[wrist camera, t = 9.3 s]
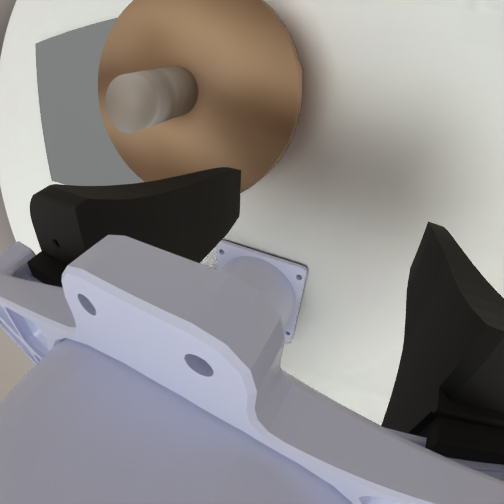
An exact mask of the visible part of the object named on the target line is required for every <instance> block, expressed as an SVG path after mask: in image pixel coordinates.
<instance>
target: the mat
mask: <svg viewBox="0 0 504 504" xmlns="http://www.w3.org/2000/svg"><path fill="white" fill-rule="evenodd" d="M117 19H118V18H115V19H111V20H107V21H103V22H99V23H96V24H92V25H89V26H85V27H82V28H79V29H75V30H72V31H69V32H66V33H63V34H60V35H58V36H55V37H52V38H49V39H47V40H44V41H41V42H39V43H36V68H37V83H38V94H39V104H40V113H41V121H42V128H43V135H44V141H45V147H46V153H47V159H48V164H49V169H50V174H51V179H52V181H55V182H59V183H62V184H66V185H75V186H110V185H122V184H134V183H142V182H144V181H143V180H142V179H141V178H139V177H138V176H137V175H136V174H135V173H134V172H133V171H132V170H131V169H130V168H129V167H128V165H127V164H126V163H125V162H124V160H123V159H122V158H121V156H120V155H119V153H118V152H117V150H116V149H115V147H114V145H113V143H112V141H111V139H110V137H109V135H108V132H107V130H106V127H105V125H104V121H103V118H102V115H101V110H100V105H99V97H98V71H99V63H100V59H101V54H102V51H103V47H104V44H105V41H106V39H107V37H108V35H109V32H110V30H111V28H112V27H113V25H114V23H115V22H116V20H117Z"/></svg>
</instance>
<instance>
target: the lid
mask: <svg viewBox="0 0 504 504" xmlns="http://www.w3.org/2000/svg"><path fill="white" fill-rule="evenodd" d="M302 88H303V86H302V75H301V67H300V63H299V58H298V54H297V51H296V48H295V46H294V43H293V41H292V38H291V36H290V34H289V32H288V30H287V29H286V27H285V25H284V24H283V22H282V21H281V19H280V18H279V17H278V16H277V14H276V13H275V12H274V11H273V9H272V8H271V7H270V6H268V5H267V4H266V3H265V2H264V1H263V0H133V1H132V2H131V3H130V4H129V5H128V6H127V7H126V8H125V10H124V11H123V12H122V13H121V15H120V16H119V17H118V19H117V20H116V22H115V23H114V25H113V27H112V28H111V30H110V32H109V35H108V37H107V39H106V41H105V44H104V47H103V51H102V54H101V59H100V63H99V71H98V97H99V105H100V110H101V115H102V118H103V121H104V125H105V127H106V130H107V132H108V135H109V137H110V139H111V141H112V143H113V145H114V147H115V149H116V150H117V152H118V153H119V155H120V156H121V158H122V159H123V160H124V162H125V163H126V164H127V165H128V167H129V168H130V169H131V170H132V171H133V172H134V173H135V174H136V175H137V176H138V177H139V178H141V179H142V180H143V181H144V182H149V181H155V180H161V179H165V178H170V177H175V176H180V175H185V174H189V173H193V172H198V171H203V170H207V169H213V168H219V167H229V168H234V169H239V170H241V189H240V193H241V192H243V191H245V190H247V189H249V188H250V187H251V186H253V185H254V184H255V183H257V182H258V181H259V180H260V179H262V178H263V177H264V176H265V175H266V174H267V173H268V172H269V171H270V170H271V169H272V168H273V167H274V166H275V165H276V164H277V163H278V161H279V160H280V158H281V157H282V155H283V154H284V153H285V151H286V149H287V147H288V145H289V143H290V141H291V140H292V138H293V135H294V132H295V129H296V126H297V123H298V120H299V115H300V110H301V105H302Z"/></svg>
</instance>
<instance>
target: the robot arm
mask: <svg viewBox="0 0 504 504" xmlns="http://www.w3.org/2000/svg"><path fill="white" fill-rule="evenodd" d="M240 189H241V170H239V169H234V168H229V167H219V168H213V169H207V170H203V171H198V172H193V173H189V174H185V175H180V176H175V177H170V178H165V179H161V180H155V181H149V182H142V183H134V184H122V185H110V186H75V185H58V184H54V185H50V186H48V187H46V188H44V189H43V190H41V191H39V192H38V193H36V194H34V195H33V197H32V199H31V202H30V215H31V219H32V223H33V226H34V229H35V232H36V235H37V239H38V242H39V244H40V247H41V250H42V251H41V252H40V253H39V254H37V255H35V253H34V252H33V251H32V250H31V249H30V248H29V247H27V246H25V245H24V244H22V243H21V242H16V243H15V244H14V245H12V246H11V247H9V248H8V249H7V250H5V251H4V252H3V253H1V254H0V326H1V327H2V328H3V329H4V330H5V332H6V333H7V334H8V335H9V336H10V337H11V338H12V339H13V340H14V342H15V343H16V344H17V345H18V346H19V347H20V348H21V349H22V350H23V351H24V353H25V354H26V355H27V356H28V357H29V358H30V359H31V360H32V361H33V362H34V363H35V364H36V365H35V366H34V367H33V368H32V369H31V370H30V371H29V372H28V374H27V375H26V376H25V377H24V378H23V379H22V380H21V381H20V382H19V383H18V384H17V385H16V386H15V387H14V388H13V389H12V390H11V391H10V392H9V394H8V395H7V396H6V397H5V398H4V399H3V400H2V401H1V402H0V504H504V298H503V297H502V296H501V295H500V294H499V293H498V292H497V291H496V290H495V289H494V288H493V287H492V286H491V285H490V284H489V283H488V282H487V280H486V279H485V278H484V277H483V276H482V275H481V273H480V272H479V271H478V270H477V268H476V267H475V266H474V265H473V264H472V262H471V261H470V260H469V258H468V257H467V256H466V254H465V253H464V252H463V250H462V249H461V248H460V246H459V245H458V244H457V242H456V241H455V240H454V238H453V237H452V236H451V234H450V233H449V232H448V231H447V230H446V229H445V228H444V227H442V226H439V225H437V224H434V223H431V222H428V224H427V227H426V230H425V232H424V235H423V238H422V240H421V243H420V245H419V248H418V251H417V253H416V256H415V258H414V261H413V263H412V265H411V268H410V274H409V280H408V287H407V300H406V320H405V335H404V344H403V351H402V356H401V360H400V365H399V369H398V373H397V377H396V381H395V384H394V388H393V392H392V395H391V398H390V402H389V405H388V408H387V411H386V414H385V417H384V420H383V423H382V425H381V426H380V425H378V424H376V423H374V422H372V421H371V420H369V419H367V418H365V417H363V416H361V415H359V414H357V413H356V412H354V411H352V410H350V409H348V408H346V407H345V406H343V405H341V404H339V403H337V402H336V401H334V400H332V399H330V398H329V397H327V396H325V395H323V394H322V393H320V392H318V391H316V390H315V389H313V388H311V387H310V386H308V385H306V384H305V383H303V382H301V381H300V380H298V379H296V378H295V377H293V376H291V375H290V374H288V373H286V372H285V371H283V370H282V369H281V368H280V359H281V354H282V350H283V345H284V342H285V343H290V342H291V341H292V338H293V334H294V330H295V326H296V321H297V317H298V313H299V308H300V304H301V299H302V295H303V290H304V286H305V281H306V276H307V269H306V267H305V266H303V265H300V264H296V263H293V262H290V261H287V260H284V259H281V258H278V257H274V256H271V255H268V254H265V253H262V252H259V251H256V250H252V249H249V248H246V247H243V246H240V245H237V244H234V243H230V242H227V241H224V240H222V239H223V238H224V237H225V236H226V234H227V233H228V232H229V231H230V229H231V228H232V226H233V225H234V223H235V222H236V220H237V219H238V217H239V212H240ZM216 245H217V269H214V268H211V267H208V266H206V265H203V264H200V262H201V261H202V260H203V259H204V258H205V257H206V256H207V255H208V254H209V253H210V251H211V250H212V249H213V248H214V247H215V246H216ZM221 249H222V250H223V251H224V252H223V251H222V250H221ZM298 275H300V276H302V277H299V276H298Z"/></svg>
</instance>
